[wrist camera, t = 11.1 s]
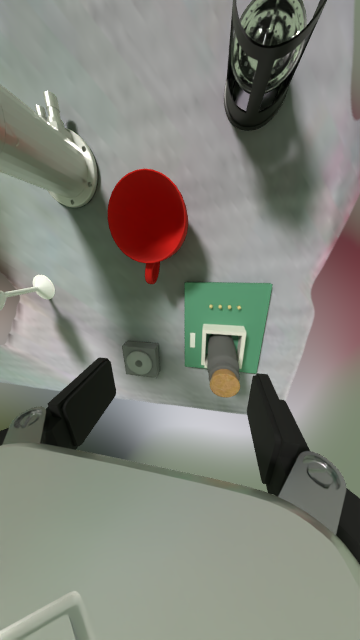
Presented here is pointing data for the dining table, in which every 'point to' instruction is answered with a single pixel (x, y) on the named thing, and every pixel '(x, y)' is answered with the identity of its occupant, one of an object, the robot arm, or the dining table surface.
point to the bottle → (223, 365)
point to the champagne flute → (32, 289)
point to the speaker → (141, 358)
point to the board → (225, 320)
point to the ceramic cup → (147, 218)
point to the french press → (265, 55)
